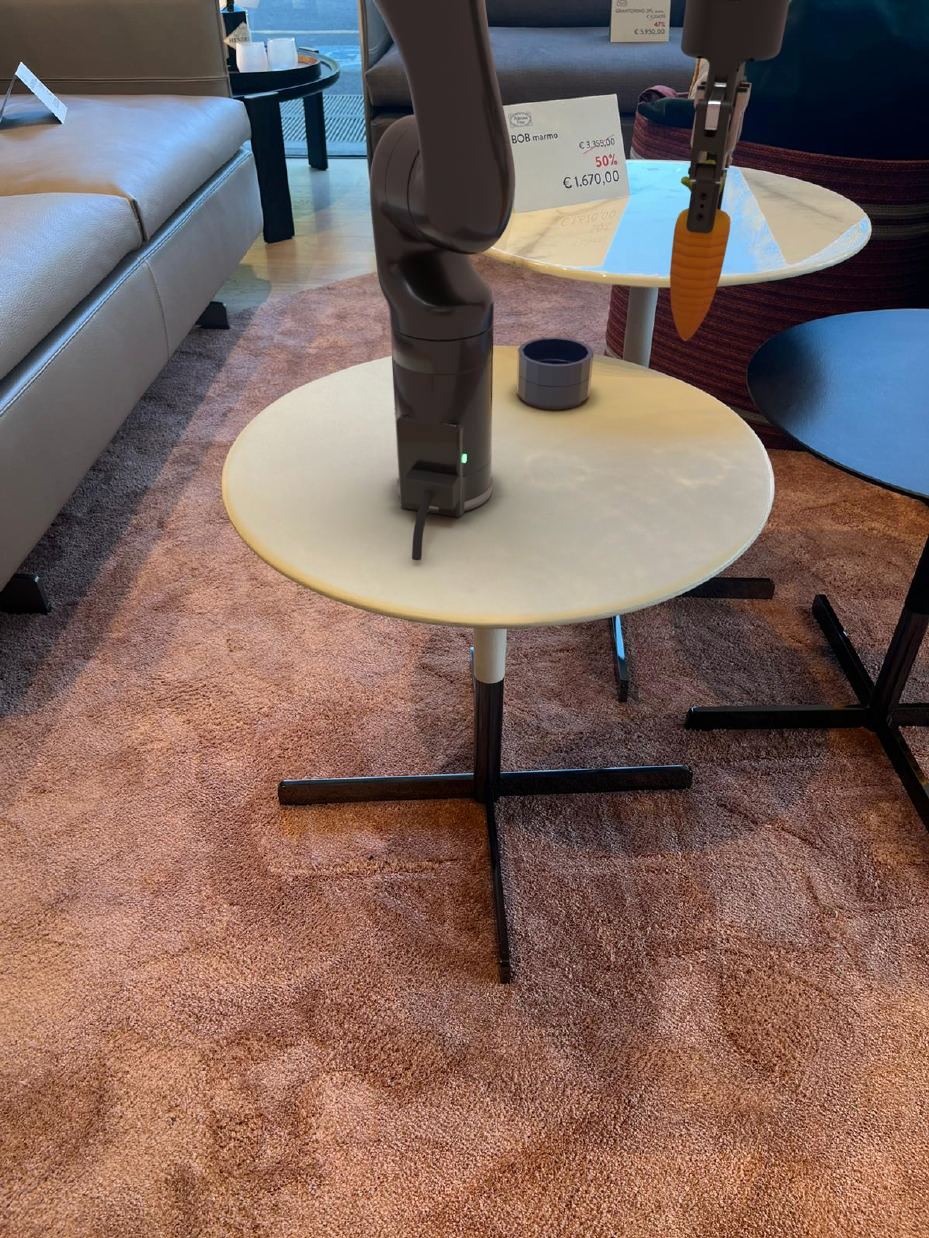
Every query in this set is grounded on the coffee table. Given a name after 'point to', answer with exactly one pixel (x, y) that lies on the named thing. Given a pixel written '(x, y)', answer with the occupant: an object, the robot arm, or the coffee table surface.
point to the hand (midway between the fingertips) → (703, 222)
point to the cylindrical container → (554, 372)
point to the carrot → (696, 268)
